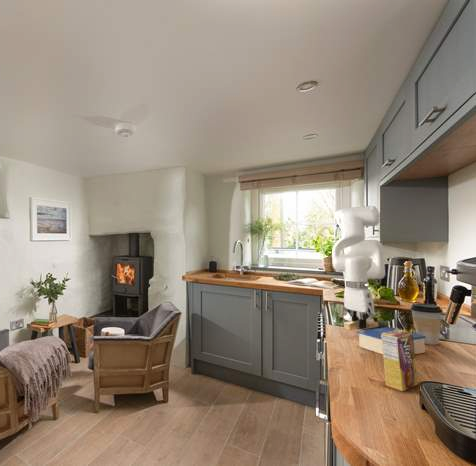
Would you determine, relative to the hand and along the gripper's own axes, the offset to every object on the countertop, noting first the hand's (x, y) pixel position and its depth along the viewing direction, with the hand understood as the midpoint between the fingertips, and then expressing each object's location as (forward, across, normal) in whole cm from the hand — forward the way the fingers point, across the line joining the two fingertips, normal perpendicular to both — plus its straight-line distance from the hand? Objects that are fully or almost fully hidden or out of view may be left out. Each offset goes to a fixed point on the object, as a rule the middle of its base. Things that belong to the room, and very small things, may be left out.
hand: (359, 326), depth 127 cm
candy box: (+4, -35, +32) cm, 48 cm away
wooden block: (0, 0, 0) cm, 1 cm away
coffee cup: (+5, -13, -18) cm, 23 cm away
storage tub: (+4, -14, +4) cm, 15 cm away
